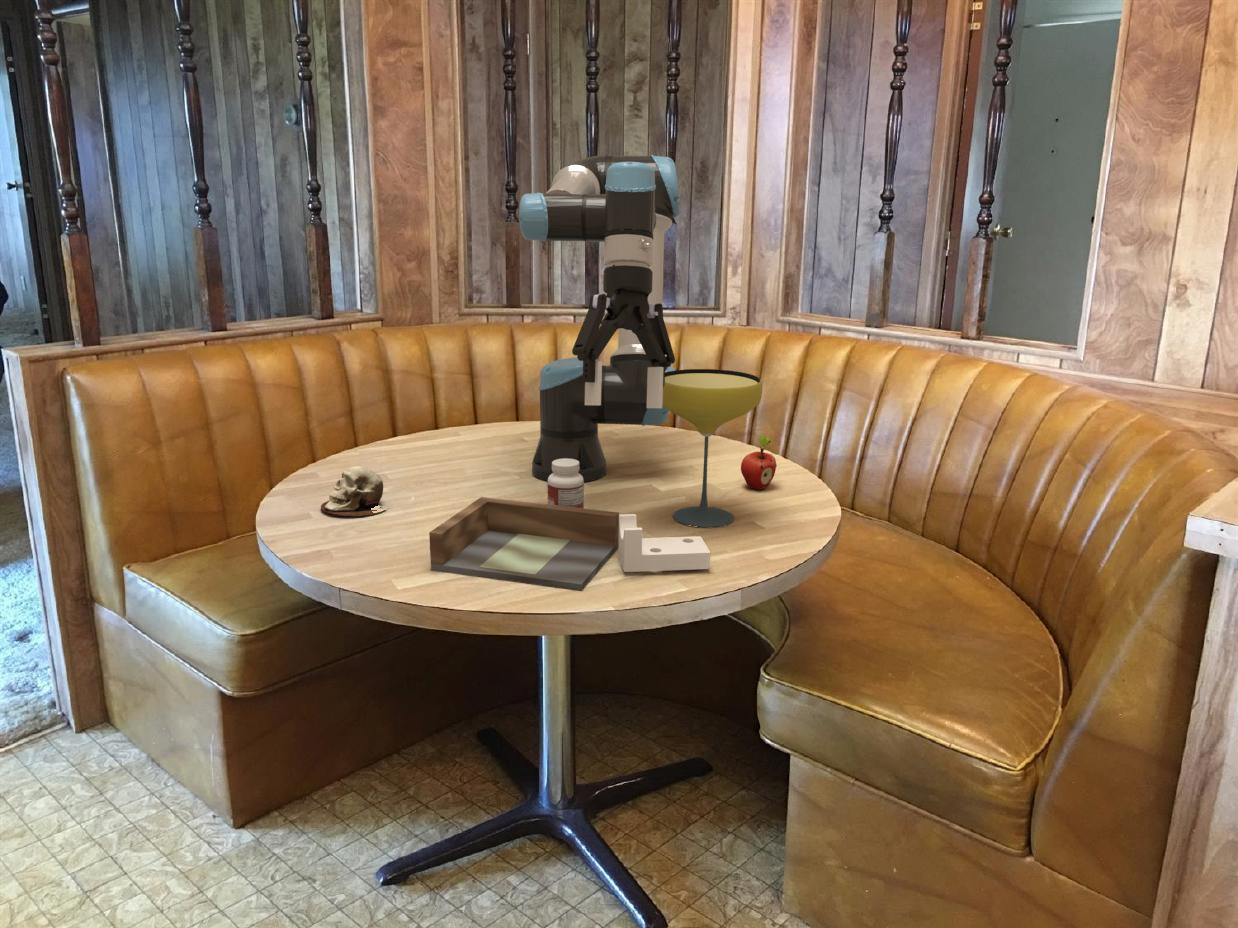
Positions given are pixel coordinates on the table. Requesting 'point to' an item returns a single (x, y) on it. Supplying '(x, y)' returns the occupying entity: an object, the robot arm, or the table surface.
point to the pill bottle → (566, 484)
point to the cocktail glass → (709, 420)
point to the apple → (759, 467)
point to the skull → (355, 493)
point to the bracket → (658, 550)
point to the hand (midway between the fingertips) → (624, 407)
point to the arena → (526, 542)
